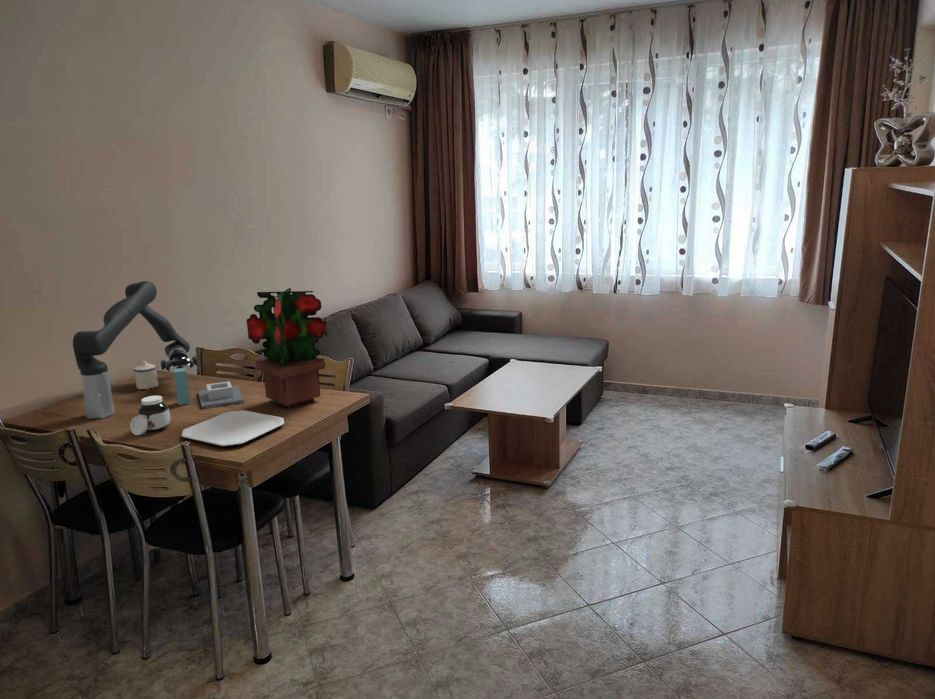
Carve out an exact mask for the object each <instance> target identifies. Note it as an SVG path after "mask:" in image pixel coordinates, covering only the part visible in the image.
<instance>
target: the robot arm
mask: <svg viewBox="0 0 935 699" xmlns="http://www.w3.org/2000/svg"><path fill="white" fill-rule="evenodd" d="M157 290H158V289H157V287H156V285H155V284H154V283H153V282H152V281H148V280H143V281H138V282H135V283H131V284H128V285H127V286H126V287H125V289H124V293H125V298H124V299H121V300H119V301H118V302H115V303H114V304H113V305H111V307H109V308H108V309H107V310H106V311H105V313H104V315H103V324H104V326H103V327H102V328H101V329H99V330H95V331H94V330H89V331H88V330H84V331H83V330H82V331H77V332H76V333H75V334H74V335H73V337H72V348H73V353H74V358H75V361H76V366H77V369H78V370H79V372H80V378H81V384H82V390H83V402H84V406H85V413H86V418H87V419H104V418H106V417H107V418H108V417H111V416H112V415H114V414H115V413H116V412H115V411H116V410H115V405H114V400H113V398H114V397H113V393H112V387H111V382H110V376H109V375H110V374H109V368H108V364H107V363H106V362H104V361H101V360H100V359H97V357H95V356H101V355H103V354H105V353H106V352H107V351H108V350H109V349H110V347H111V346H112V344H113V343H114V341H115V340H116V339H117V337H118V336H119V335H120V334H121V333H122V331H123V330H124V329H125V328H126V327H128V325H130V324H131V322H132V321H133V320H134V319H135V318H136V317H137V316H138V315H139V314H140V315H141V316H142V317H143V318H144V319H145V320H146V321H147V322H148V324H149V325H150V326H151V327H152V328H153V330H154V331H155V333H156V334H157V336H158V337H159V339H160V340H161V341H162V342H164V343H169V342H171V343H169V344H167V345H166V346H165V347H164V353H165V355H166V356H167V358H168V359H169V360H168V361H165V360H164V359H162V360H161V361H160V367H161V370H166V371H168V372H170V371H171V370H174V368H175V369H182V368H185V367H188V368H189V369H193V367H194V366H198V365H199V363H198V358H197V356H195V355H194V356H192V357H191V358H189V356H188V352H190V350H191V346H190V344H189V342H188V341H187V340H186V339H184V338H183V337H182V336H181V335H179V334H178V333H177V331H176V330H175V328H174V327H173V326H172V323H171V322H170V321H169V320H168V319H167V318H166V317H164V316H163V315H162V314H160V313H158V311H157V312H156V311H155V310H154V309H152V308H151V307H150V306H149V304H152V302H153V301H154V300H155V299H156V297H157V295H158V294H157V293H158V291H157Z"/></svg>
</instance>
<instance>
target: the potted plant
mask: <svg viewBox="0 0 935 699" xmlns="http://www.w3.org/2000/svg"><path fill="white" fill-rule="evenodd" d="M306 293H308V294H306ZM309 293H310V294H309ZM311 293H314V290H301V291H300V290H297V291H296V290H295V291H294V290H293V291H292V287H288V288H287V289H286V290H284V291H257V292H256V295H257V297H258V298H260V299H265V300H264V301H263V303H261V304H255V305H254V306H253V310H254V312H257V313H258V315H259V317H258V315H257V314H256V313H252V314H251V315H250V316H249V318H247V319H246V328H247V337H248V339H249V340H251V341H252V343H253V344H255V345H256V344H257V345H258V344H259V343H260V342H261V340H265V341H263V342H262V344H261V345H262V346H263V348H265V349H266V350H264V351H263V355H264V357H263V358H259V359H255V361H254V362H255V370H257V371H259V372H261V373H263V379H264V381H263V382H264V390H265V398H267V399H269V400H272V401H274V402H273V403H275V402H276V404H278V403H279V404H278V405H280V404H281V405H280V406H282V405H283V407H284V406H285V407H284V408H287V407H291V408H293V407H292V406H294V407H297V406H296V405H298V406H300V404H301V405H304V404H303V403H305V404H308V403H312V402H315V399H316V398H319V397H321V388H320V387H321V386H320V374H319V370H323V369H326V364H325V358H324V357H320V354H321V352H320V350H319V349H317V348H316V347H315V345H316V343H318V342H319V340H320V339H322V338H324V335H325V337H328V333H327V332H328V331H327V319H326V317H325V318H324V320H323V319H322V318H321V317H318V316H316V315H317V313H318V311H321V309H322V302H321V300H320V299H319V298H317V297H316V295H314V294H311ZM272 294H273V295H272ZM274 294H276V296H274ZM309 316H312V317H309ZM307 402H308V403H307Z"/></svg>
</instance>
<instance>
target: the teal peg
mask: <svg viewBox="0 0 935 699" xmlns="http://www.w3.org/2000/svg"><path fill="white" fill-rule="evenodd" d="M173 375H174V383H175V389H176V396H177V405H178V406H179V405H180V406H184V405H183V404H187V405H190V404H191V398H190V390H189V383H188V375H187V370H186V368H185V367H183V368H175V369H174V368H173ZM189 403H190V404H189Z"/></svg>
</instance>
